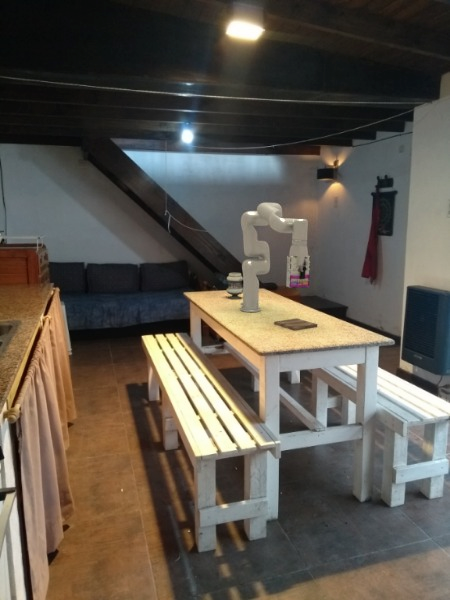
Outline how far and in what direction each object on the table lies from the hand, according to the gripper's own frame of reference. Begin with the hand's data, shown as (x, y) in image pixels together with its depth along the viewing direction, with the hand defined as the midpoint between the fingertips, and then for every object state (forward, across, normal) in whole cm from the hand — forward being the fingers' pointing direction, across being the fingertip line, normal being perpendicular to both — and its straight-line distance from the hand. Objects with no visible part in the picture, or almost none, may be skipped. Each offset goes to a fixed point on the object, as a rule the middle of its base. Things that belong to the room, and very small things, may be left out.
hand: (297, 277), depth 229 cm
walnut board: (+25, 0, 0) cm, 25 cm away
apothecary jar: (+26, -84, +19) cm, 90 cm away
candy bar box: (+5, 0, 0) cm, 5 cm away
